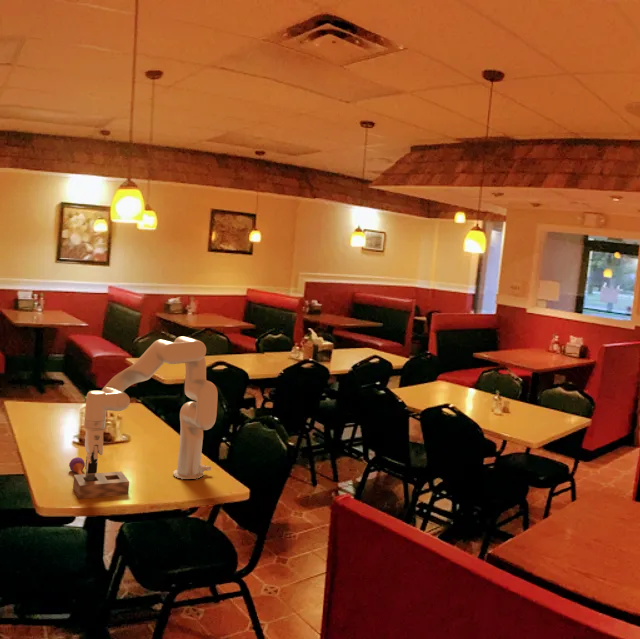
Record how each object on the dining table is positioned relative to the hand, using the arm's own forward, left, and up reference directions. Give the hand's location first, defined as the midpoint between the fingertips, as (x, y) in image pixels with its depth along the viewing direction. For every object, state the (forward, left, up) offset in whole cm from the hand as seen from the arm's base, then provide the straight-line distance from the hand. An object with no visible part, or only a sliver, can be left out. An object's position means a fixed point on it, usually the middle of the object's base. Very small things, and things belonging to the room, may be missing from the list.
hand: (90, 470), depth 245 cm
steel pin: (0, 0, -3) cm, 3 cm away
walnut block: (-4, 0, -8) cm, 9 cm away
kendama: (0, -18, -9) cm, 20 cm away
